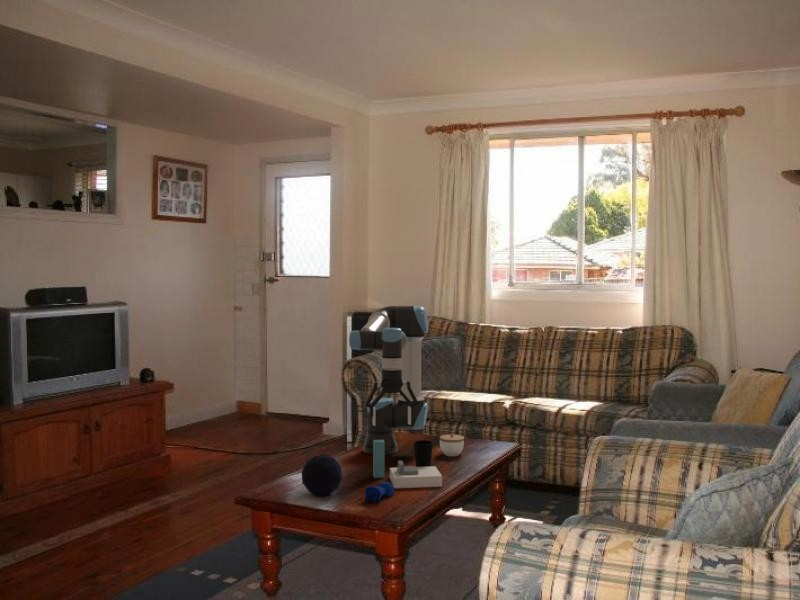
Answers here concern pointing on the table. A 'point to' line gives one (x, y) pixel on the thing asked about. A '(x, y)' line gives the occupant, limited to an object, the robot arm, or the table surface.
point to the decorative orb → (321, 475)
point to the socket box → (417, 478)
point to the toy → (378, 492)
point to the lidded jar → (451, 444)
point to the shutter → (406, 469)
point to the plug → (378, 458)
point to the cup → (423, 453)
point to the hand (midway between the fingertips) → (391, 424)
